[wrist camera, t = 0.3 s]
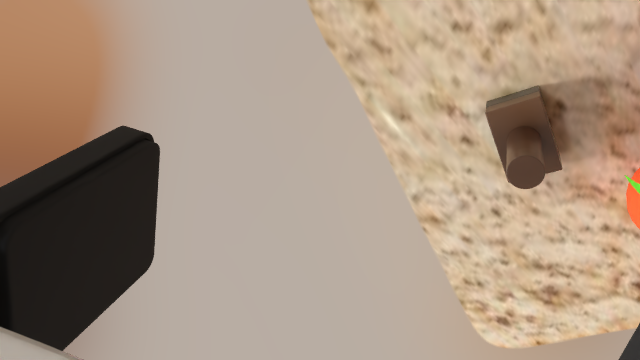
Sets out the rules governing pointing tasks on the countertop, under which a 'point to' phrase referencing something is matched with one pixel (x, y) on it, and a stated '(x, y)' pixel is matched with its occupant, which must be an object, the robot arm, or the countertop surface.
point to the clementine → (634, 197)
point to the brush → (523, 137)
